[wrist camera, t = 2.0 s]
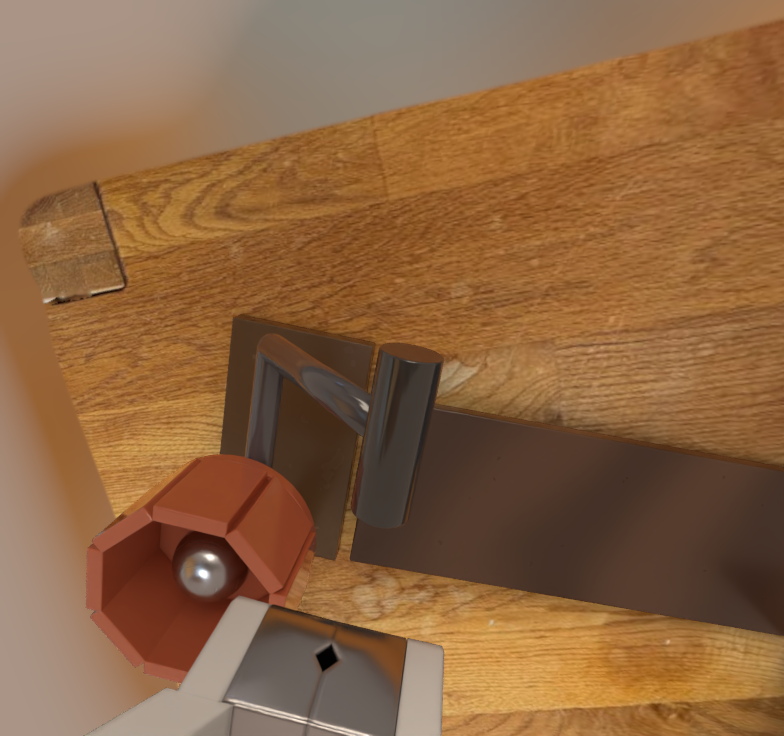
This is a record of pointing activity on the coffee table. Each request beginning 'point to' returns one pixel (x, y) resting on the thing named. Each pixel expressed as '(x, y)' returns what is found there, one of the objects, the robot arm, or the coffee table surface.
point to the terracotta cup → (257, 504)
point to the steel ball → (207, 567)
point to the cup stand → (301, 420)
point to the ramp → (592, 521)
